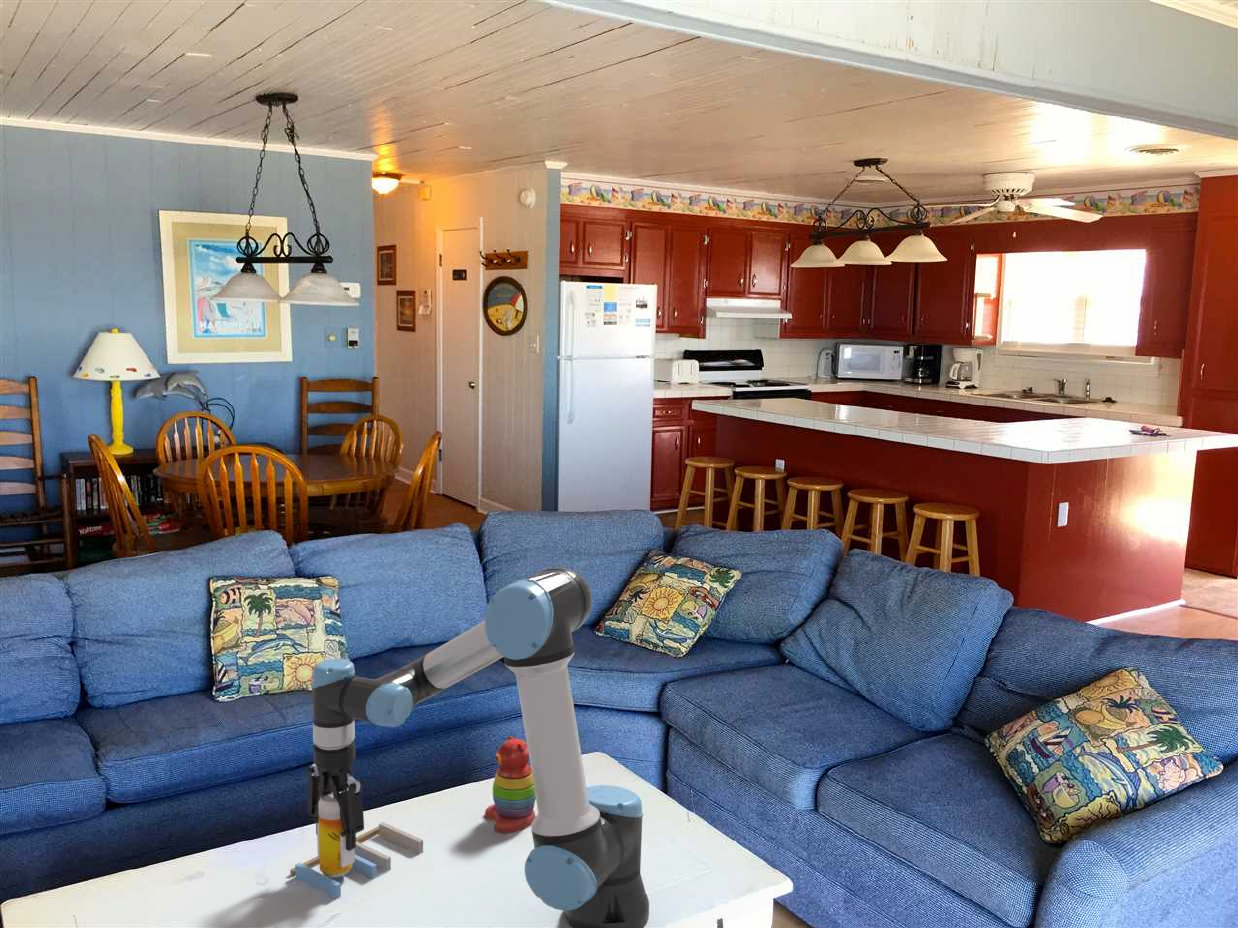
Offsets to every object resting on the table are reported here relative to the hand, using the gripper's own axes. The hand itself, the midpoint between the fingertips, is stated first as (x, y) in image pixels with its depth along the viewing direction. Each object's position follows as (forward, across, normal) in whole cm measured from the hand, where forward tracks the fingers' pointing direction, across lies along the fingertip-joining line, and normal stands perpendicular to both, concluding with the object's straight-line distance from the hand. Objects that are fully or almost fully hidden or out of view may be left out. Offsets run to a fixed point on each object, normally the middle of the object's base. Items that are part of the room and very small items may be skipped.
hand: (336, 858), depth 192 cm
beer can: (+3, 0, 0) cm, 3 cm away
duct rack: (+4, 0, -6) cm, 7 cm away
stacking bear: (+4, -11, -38) cm, 40 cm away
